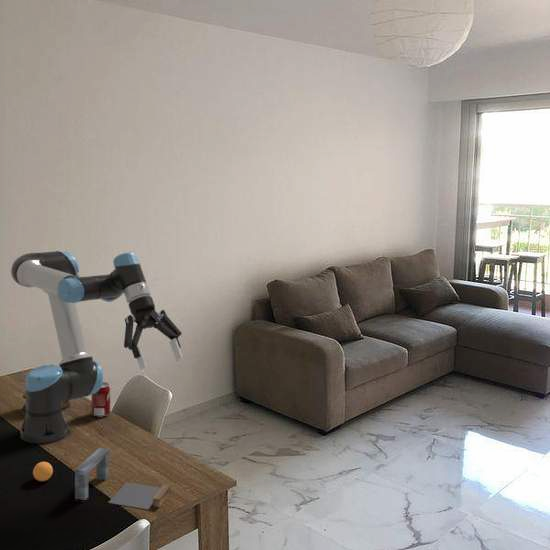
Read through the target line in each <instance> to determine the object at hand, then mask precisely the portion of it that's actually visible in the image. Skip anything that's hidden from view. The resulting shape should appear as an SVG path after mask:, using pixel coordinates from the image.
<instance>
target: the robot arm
mask: <svg viewBox="0 0 550 550" xmlns="http://www.w3.org/2000/svg"><path fill="white" fill-rule="evenodd" d="M112 262H113V267H114V269H113V270H112V271H110V273H109V274H101V275H90V276H80V274H79V273H80V268H79V263H78V261H77V259H76V258H75V256H74V255H73V254H71V252H68V251H64V250H63V251H59V250H56V251H47V252H46V251H45V252H30V253H24V254H22V255H20V256H19V257H18V258H16V259H15V260H14V262H13V263H12V265H11V269H10V274H11V277H12V279H13V280H14V282H15V283H17V284H18V285H19V286H22V287H25V288H34V287H35V288H37V289H40V290H42V292H43V293H45V294H46V295H47V296H48V301H49V305H50V310H51V314H52V319H53V322H54V323H53V324H54V328H55V331H56V336H57V341H58V345H59V350H60V354H61V360H60V362H59V363H58V365H55V364H50V365H49V366H48V365H41V366H38V367H36V368H35V367H34V368H33V369H31V370H29V372H28V373H27V374H26V375H25V376H26V377H25V385H24V390H25V389H26V392H25V393H26V399H25V404H26V412H25V416H24V418H23V422H22V425H21V428H20V439H21V440H22V441H24V442H27V443H30V444H49V443H53V442H56V441H59V440H61V439H63V438H65V437H66V436H67V434H68V425H67V423H66V419H65V416H64V414H63V412H62V411H63V410H62V402H65V401H69V402H70V401H72V400H76V399H81V398H85V397H89V396H92V394H94V393H96V392H98V391H99V389H100V388H101V385H102V382H104V372H103V368H102V366H101V365H100V363H99V362H98V361H95V360H94V358H93V356H92V355H91V354H89V353H88V351H87V347H86V343H85V340H84V335H83V331H82V325H81V322H80V317H79V313H78V309H77V308H78V307H77V304H76V303H80V302H86V301H95V300H102V301H104V302H107V303H108V302H109V303H110V302H114V301H115V300H117V299H119V298H120V297H121V296H122V295H124V297H125V300H126V302H127V304H128V308H129V310H130V313H131V314H129V315H128V316H126V317H125V318H124V322H125V331H124V341H123V347H124V348H125V349H127V348H128V350H130V351H131V352H132V355H133V358H134V359H135V360H137V364H138V366H139V369H140V370H142V369H145V368H146V367H147V366H148V364H147V361H146V358H145V355H144V353H143V350H142V347H141V345H138V344H139V341H140V338H141V336H142V333H143V330H145V329H146V330H147V329H151V328H153V329H156V330H158V331H159V332H160V333H161V334H163V335H164V336H165V337H166V338H168V339H169V344H170V347H171V350H172V353H173V355H174V358H175V360H176V362H177V361H180V360H181V359H183V358H184V356H183V353H182V351H181V343H180V341H179V338H180V336H182V335H183V333H182V331H180V329H179V328H178V327H177V326H176V324H175V323H174V322H173V321H172V320H171V319H170V318H169V316H168V315H167V312H166V310H164V309H162V310H160V311H157V310H156V305H155V302H154V300H153V297H152V296H151V292H150V289H149V286H148V283H147V281H146V278H145V275H144V273H143V269H142V267H141V262H140V261H139V259H138V256H137V255H136V254H135V253H134V252H129V251H128V252H123V253H121V254H118V255H117V256H115V257H114V259H113V261H112ZM134 323H136V326H135V329H134ZM134 330H135V331H134ZM133 331H134V333H133Z"/></svg>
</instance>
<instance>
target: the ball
mask: <svg viewBox="0 0 550 550" xmlns="http://www.w3.org/2000/svg"><path fill="white" fill-rule="evenodd" d="M53 472H54V469H53V466H52V465H51V463H49V462H47V461H40V462H38V463H37V464H36V465H35V466H34V468H33V471H32V475H33V477H34V479H35V480H37V481H38V482H46V481H48V480H49V479H50V478H51V477H52V476H53Z"/></svg>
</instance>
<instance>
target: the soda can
mask: <svg viewBox="0 0 550 550" xmlns="http://www.w3.org/2000/svg"><path fill="white" fill-rule="evenodd" d="M110 413H111V387H110V384H109V382H106V381H103V382H102V385H101V388H100V389H99V391H98V392H96V393H94V394H91V415H92V416H94V417H95V416H97V417H96V418H104V417H103V416H105V417H107V416H109V415H110Z"/></svg>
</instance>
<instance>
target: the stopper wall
mask: <svg viewBox="0 0 550 550" xmlns="http://www.w3.org/2000/svg"><path fill="white" fill-rule="evenodd" d="M160 488H161V489H160V490H159V491H158V493H157V494H156V495H155V497H154V498H153V505H152V507H153V508H161V507H162V505H163V504H164V503H165V501H166V499H168V497H169V496H170V494H171V485H167V484H163V485H162V486H161V487H160Z"/></svg>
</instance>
